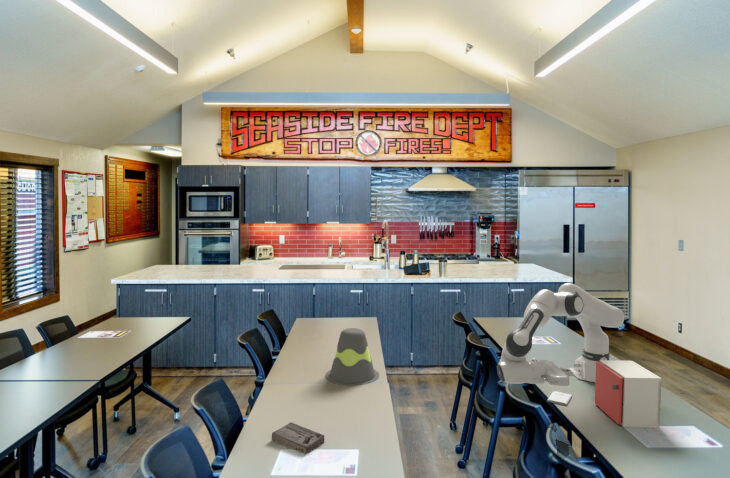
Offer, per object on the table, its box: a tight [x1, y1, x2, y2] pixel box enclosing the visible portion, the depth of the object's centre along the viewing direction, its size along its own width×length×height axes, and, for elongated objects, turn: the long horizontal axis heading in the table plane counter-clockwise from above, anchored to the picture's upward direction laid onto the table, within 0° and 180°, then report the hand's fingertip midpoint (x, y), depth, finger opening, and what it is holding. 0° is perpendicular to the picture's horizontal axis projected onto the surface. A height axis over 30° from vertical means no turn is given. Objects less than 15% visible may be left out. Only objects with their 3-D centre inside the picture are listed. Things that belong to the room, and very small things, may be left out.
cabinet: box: [600, 359, 662, 429], centre depth 197 cm, size 22×14×20 cm, turn 178°
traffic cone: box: [325, 327, 380, 386], centre depth 243 cm, size 28×28×24 cm
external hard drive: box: [546, 390, 573, 406], centre depth 215 cm, size 2×8×12 cm
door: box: [594, 361, 623, 426], centre depth 198 cm, size 21×3×19 cm, turn 178°
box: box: [271, 422, 325, 455], centre depth 174 cm, size 11×17×3 cm, turn 56°
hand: (571, 372), depth 194 cm, fingers closed
